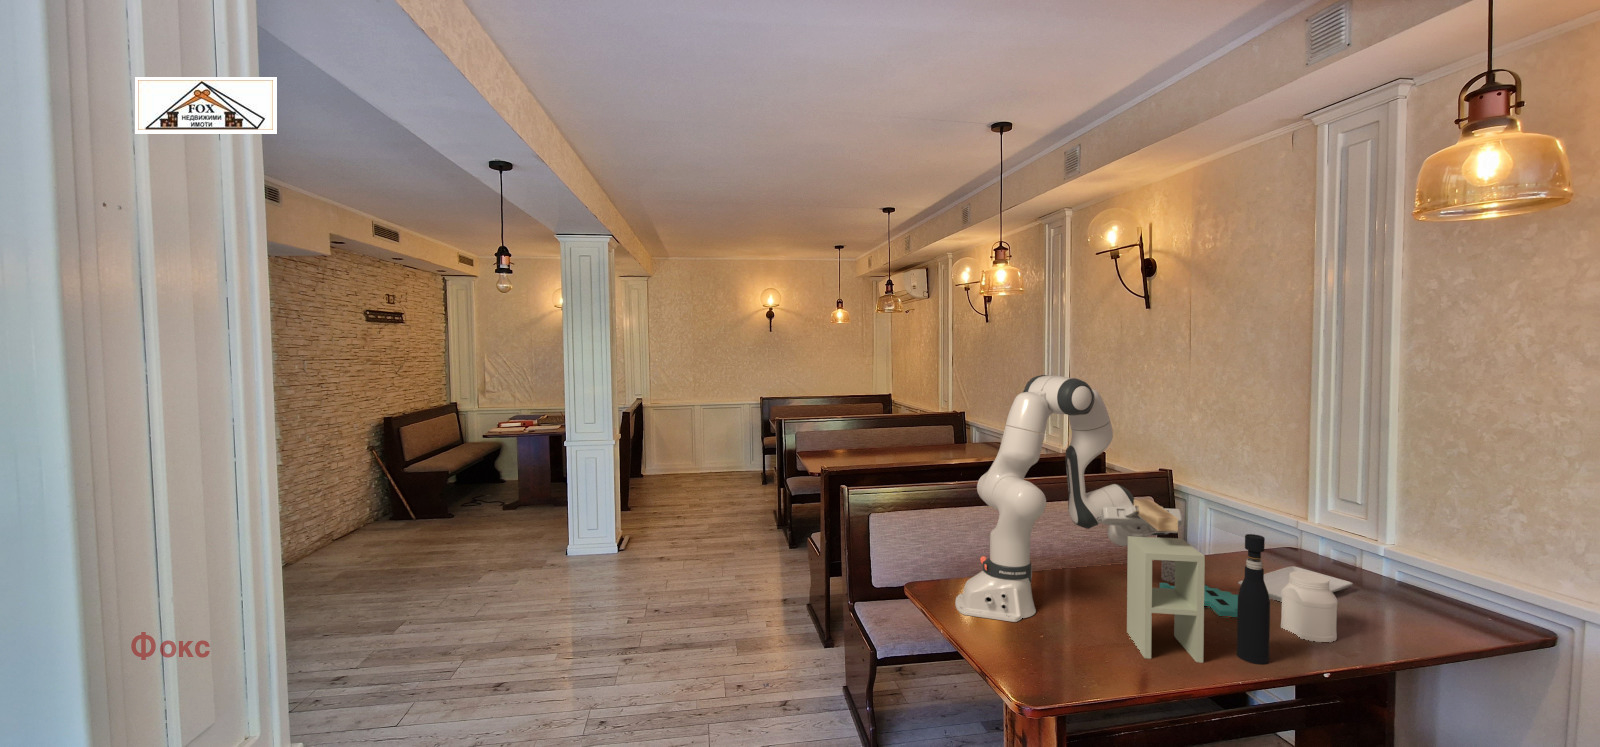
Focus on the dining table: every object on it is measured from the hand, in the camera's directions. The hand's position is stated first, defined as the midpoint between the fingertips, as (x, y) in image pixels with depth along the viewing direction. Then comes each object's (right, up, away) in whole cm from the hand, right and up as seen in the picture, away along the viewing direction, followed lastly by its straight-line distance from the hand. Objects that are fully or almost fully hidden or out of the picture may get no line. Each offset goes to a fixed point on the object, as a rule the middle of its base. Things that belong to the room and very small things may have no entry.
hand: (1148, 508), depth 171 cm
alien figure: (+27, -32, +16) cm, 45 cm away
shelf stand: (-2, -33, -10) cm, 34 cm away
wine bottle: (+16, -33, -17) cm, 40 cm away
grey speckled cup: (+28, -31, +37) cm, 55 cm away
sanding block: (-1, -3, -5) cm, 5 cm away
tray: (+58, -31, +24) cm, 70 cm away
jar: (+40, -32, -4) cm, 52 cm away
